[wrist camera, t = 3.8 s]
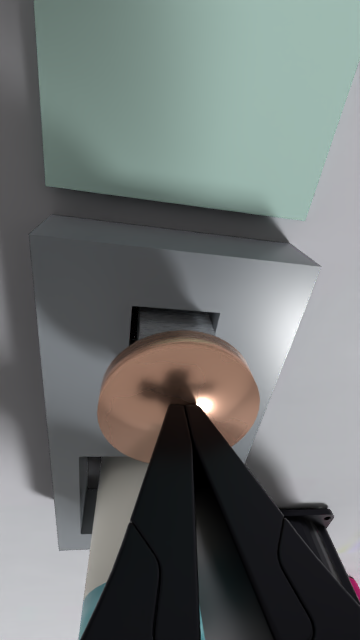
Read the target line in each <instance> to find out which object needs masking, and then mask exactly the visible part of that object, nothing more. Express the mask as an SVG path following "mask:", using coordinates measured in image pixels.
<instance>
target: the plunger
mask: <svg viewBox="0 0 360 640" xmlns="http://www.w3.org/2000/svg"><path fill="white" fill-rule="evenodd" d="M170 404H181V405H183V406H185V405H199V406H200V407H201V408H202V409H203V411H204V412H205V413H206V415H207V416H208V417H209V419H210V420H211V421H212V422H213V424H214V425H215V426H216V428H217V429H218V430H219V432H220V433H221V434H222V435H223V437H224V438H225V439H226V441H227V442H228V443H229V445H230V446H231V447H232V446H233V445H235V444H236V443H237V442H239V441H240V440H241V439H242V438H243V437H244V436H245V435H246V433H247V432H248V431H249V430H250V428H251V427H252V425H253V424H254V422H255V420H256V417H257V415H258V411H259V406H260V395H259V390H258V387H257V384H256V382H255V380H254V378H253V376H252V373H251V371H250V369H249V367H248V365H247V362H246V360H245V359H244V357H243V356H242V355H241V353H240V352H239V351H238V350H237V349H236V348H235V347H233V346H232V345H231V344H229V343H228V342H226V341H225V340H223V339H221V338H219V337H216V335H215V332H214V329H213V326H212V324H211V321H210V318H209V315H208V312H202V311H190V310H178V309H165V308H153V307H140V306H139V311H138V322H137V333H136V342H134V343H133V344H131V345H130V346H128V347H127V348H125V349H124V350H123V351H122V352H120V353H119V354H118V355H117V356H116V357H115V358H114V359H113V361H112V362H111V363H110V365H109V366H108V368H107V370H106V372H105V374H104V376H103V380H102V383H101V389H100V395H99V401H98V408H97V419H98V423H99V427H100V429H101V431H102V433H103V435H104V437H105V438H106V439H107V441H108V442H109V443H110V444H111V445H112V446H113V447H114V448H116V449H117V450H118V451H120V452H121V453H123V454H125V455H126V456H129V457H131V458H133V459H136V460H139V461H142V462H146V463H149V462H150V459H151V456H152V453H153V450H154V447H155V444H156V441H157V438H158V435H159V432H160V429H161V426H162V423H163V420H164V417H165V414H166V411H167V408H168V406H169V405H170Z"/></svg>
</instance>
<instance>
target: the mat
mask: <svg viewBox="0 0 360 640" xmlns="http://www.w3.org/2000/svg"><path fill="white" fill-rule="evenodd" d="M34 14H35V29H36V45H37V61H38V76H39V92H40V108H41V123H42V139H43V155H44V170H45V186H49V187H57V188H64V189H71V190H79V191H86V192H94V193H101V194H108V195H116V196H123V197H131V198H138V199H145V200H153V201H160V202H168V203H175V204H182V205H190V206H197V207H204V208H212V209H219V210H227V211H234V212H241V213H249V214H256V215H264V216H271V217H278V218H286V219H293V220H301V221H305V220H306V217H307V214H308V211H309V208H310V205H311V202H312V199H313V196H314V193H315V190H316V187H317V184H318V181H319V178H320V176H321V173H322V170H323V167H324V164H325V161H326V158H327V155H328V152H329V149H330V146H331V143H332V140H333V137H334V134H335V131H336V128H337V125H338V122H339V119H340V116H341V113H342V110H343V107H344V104H345V102H346V99H347V96H348V93H349V90H350V87H351V84H352V81H353V78H354V75H355V72H356V69H357V66H358V63H359V60H360V0H34Z"/></svg>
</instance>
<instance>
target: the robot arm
mask: <svg viewBox="0 0 360 640" xmlns="http://www.w3.org/2000/svg"><path fill="white" fill-rule="evenodd" d="M333 518H334V515H333V513H332V511H331V510H330V509H306V510H279V508H278V507H277V506H276V504H275V503H274V502H273V501H272V499H271V498H270V497H269V495H268V494H267V493H266V491H265V490H264V489H263V488H262V486H261V485H260V484H259V482H258V481H257V480H256V478H255V477H254V476H253V475H252V473H251V472H250V471H249V469H248V468H247V467H246V465H245V464H244V463H243V462H242V460H241V459H240V458H239V456H238V455H237V454H236V452H235V451H234V450H233V448H232V447H231V446H230V445H229V443H228V442H227V441H226V439H225V438H224V437H223V435H222V434H221V433H220V432H219V430H218V429H217V428H216V426H215V425H214V424H213V422H212V421H211V420H210V419H209V417H208V416H207V415H206V413H205V412H204V411H203V409H202V408H201V407H200V406H199V405H185V406H183V405H181V404H170V405H169V406H168V408H167V411H166V414H165V417H164V420H163V423H162V426H161V429H160V432H159V435H158V438H157V441H156V444H155V447H154V450H153V453H152V456H151V459H150V462H149V465H148V468H147V471H146V474H145V477H144V479H143V482H142V485H141V488H140V491H139V494H138V497H137V500H136V503H135V506H134V509H133V512H132V515H131V518H130V523H129V524H128V526H127V529H126V532H125V535H124V538H123V541H122V544H121V547H120V549H119V552H118V555H117V557H116V560H115V563H114V565H113V568H112V571H111V573H110V575H109V577H108V580H107V582H106V584H105V586H104V589H103V591H102V593H101V596H100V598H99V600H98V602H97V605H96V607H95V609H94V611H93V613H92V615H91V617H90V619H89V622H88V624H87V626H86V628H85V630H84V632H83V634H82V636H81V639H80V640H201V629H200V611H201V618H202V624H203V630H204V637H205V640H360V601H359V599H358V597H357V594H356V592H355V590H354V588H353V586H352V584H351V581H350V579H349V577H348V575H347V573H346V571H345V568H344V566H343V564H342V562H341V560H340V558H339V556H338V553H337V551H336V549H335V547H334V545H333V543H332V540H331V538H330V536H329V534H328V532H327V530H326V528H327V527H328V525H329V524H330V522H331V521H332V520H333ZM199 605H200V606H199Z"/></svg>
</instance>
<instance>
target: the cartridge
mask: <svg viewBox="0 0 360 640" xmlns="http://www.w3.org/2000/svg"><path fill="white" fill-rule="evenodd" d="M148 465H149V463H146V462H142V461H139V460H136V459H133V458H131V457H102V460H101V467H100V475H99V483H98V491H97V499H96V507H95V514H94V522H93V530H92V538H91V546H90V554H89V561H88V569H87V577H86V585H85V593H84V600H83V608H82V616H81V624H80V632H79V640H80V639H81V636H82V634H83V632H84V630H85V628H86V626H87V624H88V622H89V619H90V617H91V615H92V613H93V611H94V609H95V607H96V605H97V602H98V600H99V598H100V596H101V593H102V591H103V589H104V586H105V584H106V582H107V580H108V577H109V575H110V573H111V571H112V568H113V565H114V563H115V560H116V557H117V555H118V552H119V549H120V547H121V544H122V541H123V538H124V535H125V532H126V529H127V526H128V524H129V523H130V518H131V515H132V512H133V509H134V506H135V503H136V500H137V497H138V494H139V491H140V488H141V485H142V482H143V479H144V477H145V474H146V471H147V468H148ZM199 606H200V605H199ZM200 629H201V640H205V637H204V630H203V624H202V618H201V611H200Z"/></svg>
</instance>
